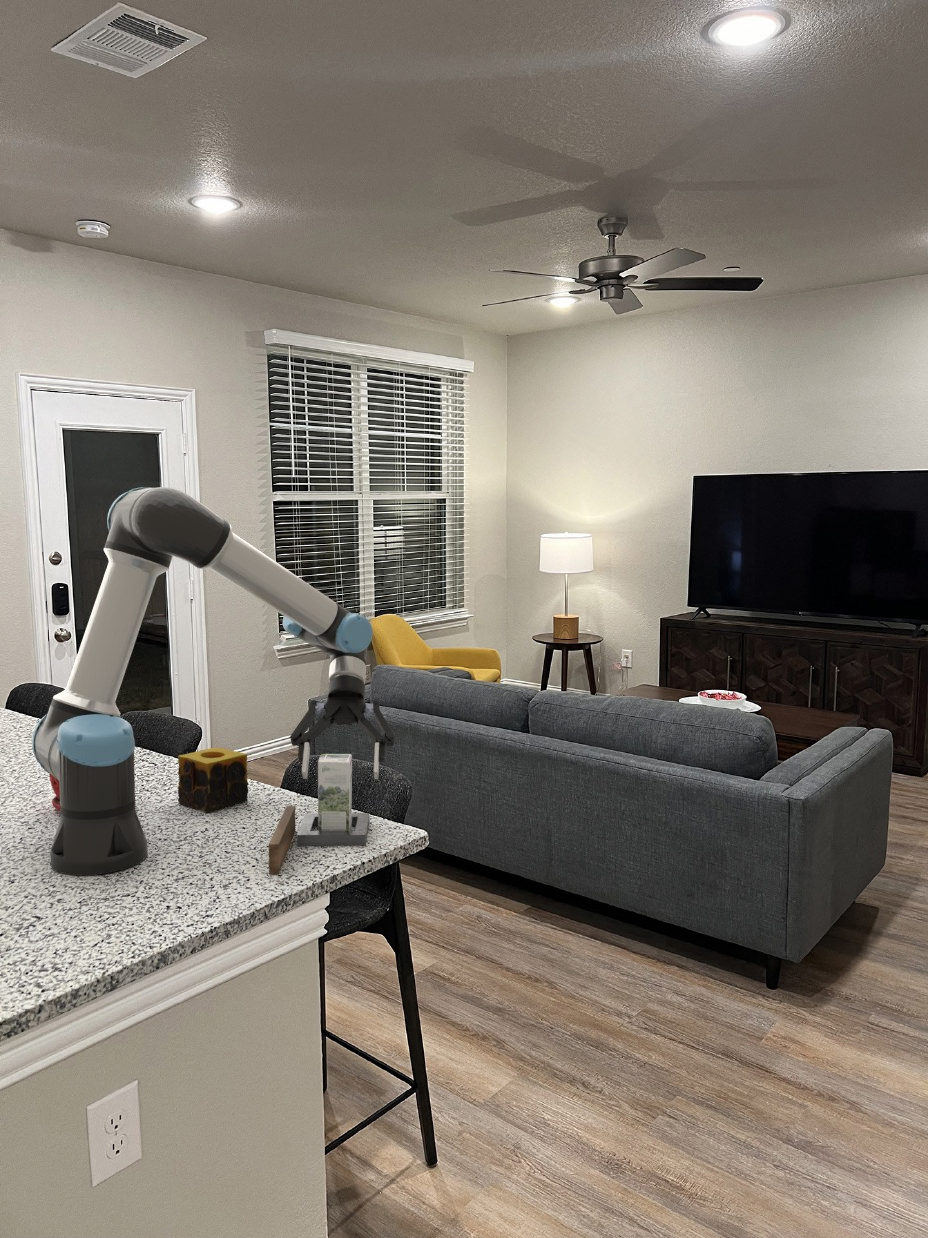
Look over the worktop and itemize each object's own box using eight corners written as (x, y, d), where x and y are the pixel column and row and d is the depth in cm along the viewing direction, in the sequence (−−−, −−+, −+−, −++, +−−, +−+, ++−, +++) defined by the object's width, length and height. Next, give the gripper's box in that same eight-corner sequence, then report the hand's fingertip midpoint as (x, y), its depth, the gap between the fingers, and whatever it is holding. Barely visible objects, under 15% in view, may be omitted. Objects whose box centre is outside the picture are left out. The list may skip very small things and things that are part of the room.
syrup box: (352, 829, 174) (352, 752, 172) (349, 840, 168) (349, 761, 166) (321, 829, 174) (321, 752, 172) (317, 840, 168) (317, 760, 166)
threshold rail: (268, 874, 152) (268, 844, 151) (286, 832, 171) (286, 806, 171) (278, 874, 152) (278, 844, 151) (295, 832, 171) (295, 806, 171)
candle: (208, 814, 181) (207, 764, 180) (176, 804, 187) (175, 755, 186) (249, 802, 189) (249, 753, 188) (217, 793, 196) (216, 746, 194)
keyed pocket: (297, 846, 165) (296, 835, 164) (305, 823, 176) (305, 813, 176) (365, 845, 165) (365, 834, 165) (369, 823, 177) (369, 813, 177)
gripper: (407, 694, 196) (405, 785, 183) (287, 693, 195) (276, 785, 182) (407, 673, 190) (405, 765, 177) (283, 672, 189) (272, 765, 176)
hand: (340, 775), depth 179 cm, fingers open, 13 cm apart
